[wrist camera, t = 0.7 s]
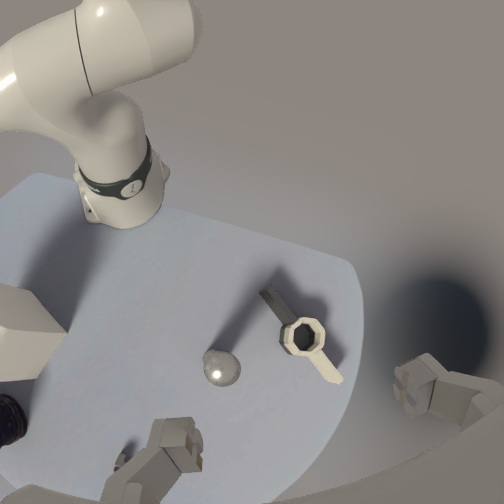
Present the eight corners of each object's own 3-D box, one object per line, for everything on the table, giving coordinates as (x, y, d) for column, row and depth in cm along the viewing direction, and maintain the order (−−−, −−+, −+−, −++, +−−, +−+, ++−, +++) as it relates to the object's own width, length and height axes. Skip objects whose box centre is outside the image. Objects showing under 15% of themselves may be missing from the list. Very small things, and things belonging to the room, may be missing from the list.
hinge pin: (195, 356, 46) (196, 365, 32) (216, 341, 48) (225, 344, 34) (211, 377, 46) (219, 393, 32) (232, 362, 47) (248, 372, 33)
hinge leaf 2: (272, 334, 50) (281, 334, 45) (299, 312, 52) (309, 309, 47) (316, 390, 49) (328, 394, 44) (341, 367, 51) (354, 369, 46)
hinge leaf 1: (247, 301, 51) (253, 298, 46) (275, 280, 53) (283, 275, 48) (294, 361, 49) (304, 364, 45) (319, 339, 51) (331, 339, 47)
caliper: (120, 451, 39) (112, 464, 33) (126, 452, 39) (119, 466, 33) (121, 526, 32) (115, 541, 26) (126, 527, 33) (121, 543, 27)
